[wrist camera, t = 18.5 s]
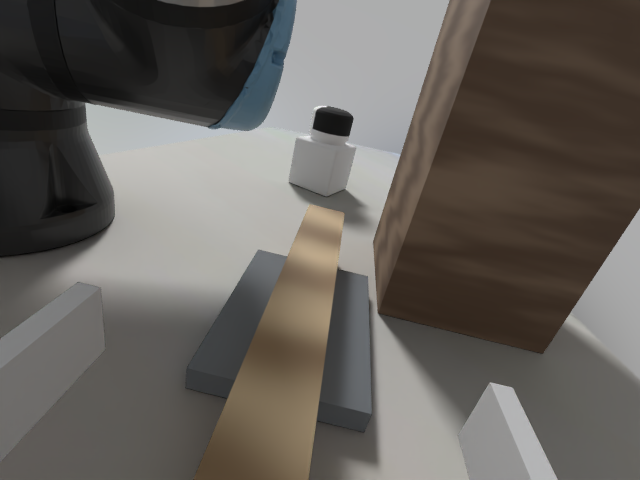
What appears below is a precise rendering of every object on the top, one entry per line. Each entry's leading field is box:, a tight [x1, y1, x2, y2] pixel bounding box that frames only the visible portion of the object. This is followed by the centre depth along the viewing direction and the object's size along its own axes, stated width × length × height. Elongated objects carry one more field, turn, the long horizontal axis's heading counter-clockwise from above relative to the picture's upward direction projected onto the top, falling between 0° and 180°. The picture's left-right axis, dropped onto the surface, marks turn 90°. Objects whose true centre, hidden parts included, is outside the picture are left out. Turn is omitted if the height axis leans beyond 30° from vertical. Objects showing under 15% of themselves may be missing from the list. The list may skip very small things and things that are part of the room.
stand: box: [373, 0, 640, 354], centre depth 29 cm, size 14×14×30 cm
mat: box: [185, 250, 372, 432], centre depth 25 cm, size 14×10×2 cm
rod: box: [193, 204, 345, 480], centre depth 23 cm, size 26×4×4 cm, turn 174°
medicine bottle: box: [289, 106, 356, 197], centre depth 54 cm, size 7×7×12 cm
